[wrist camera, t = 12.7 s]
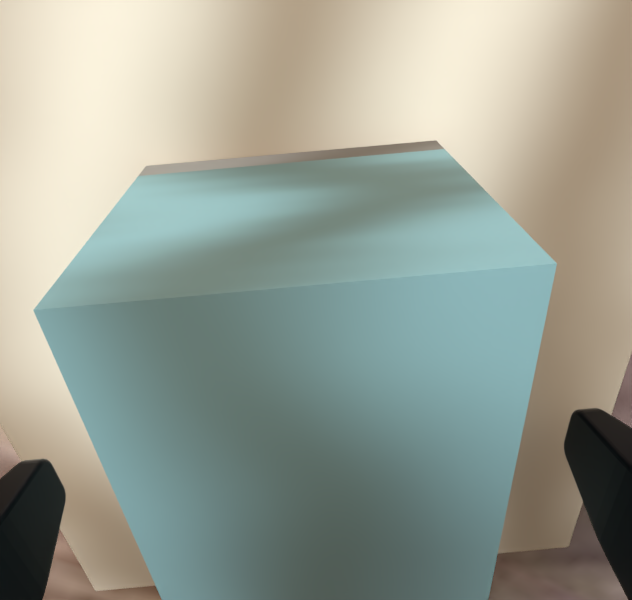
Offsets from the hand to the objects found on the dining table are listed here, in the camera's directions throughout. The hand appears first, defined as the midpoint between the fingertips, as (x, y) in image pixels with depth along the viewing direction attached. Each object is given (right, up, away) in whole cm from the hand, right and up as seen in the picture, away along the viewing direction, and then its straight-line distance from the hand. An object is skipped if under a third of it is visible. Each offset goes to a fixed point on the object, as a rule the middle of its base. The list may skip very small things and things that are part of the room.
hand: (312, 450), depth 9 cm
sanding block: (0, +2, +3) cm, 4 cm away
